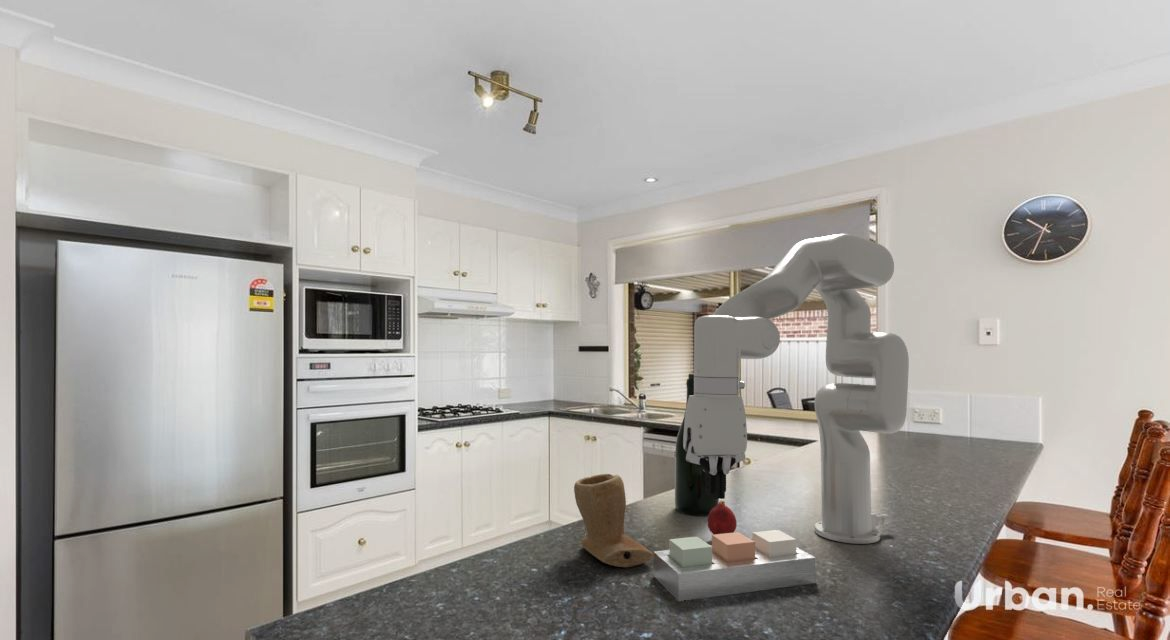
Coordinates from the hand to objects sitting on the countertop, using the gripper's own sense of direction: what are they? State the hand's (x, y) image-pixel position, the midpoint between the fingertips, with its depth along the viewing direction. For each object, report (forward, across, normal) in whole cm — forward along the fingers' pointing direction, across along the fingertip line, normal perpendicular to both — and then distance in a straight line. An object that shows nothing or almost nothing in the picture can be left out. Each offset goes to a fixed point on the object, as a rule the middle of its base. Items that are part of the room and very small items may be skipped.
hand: (715, 496), depth 95 cm
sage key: (+10, +4, 0) cm, 11 cm away
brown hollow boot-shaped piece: (+15, +13, -17) cm, 26 cm away
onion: (+14, -12, -18) cm, 26 cm away
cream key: (+10, -12, 0) cm, 15 cm away
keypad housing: (+14, -4, 0) cm, 15 cm away
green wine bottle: (+14, -17, -39) cm, 45 cm away
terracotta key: (+10, -4, 0) cm, 11 cm away
